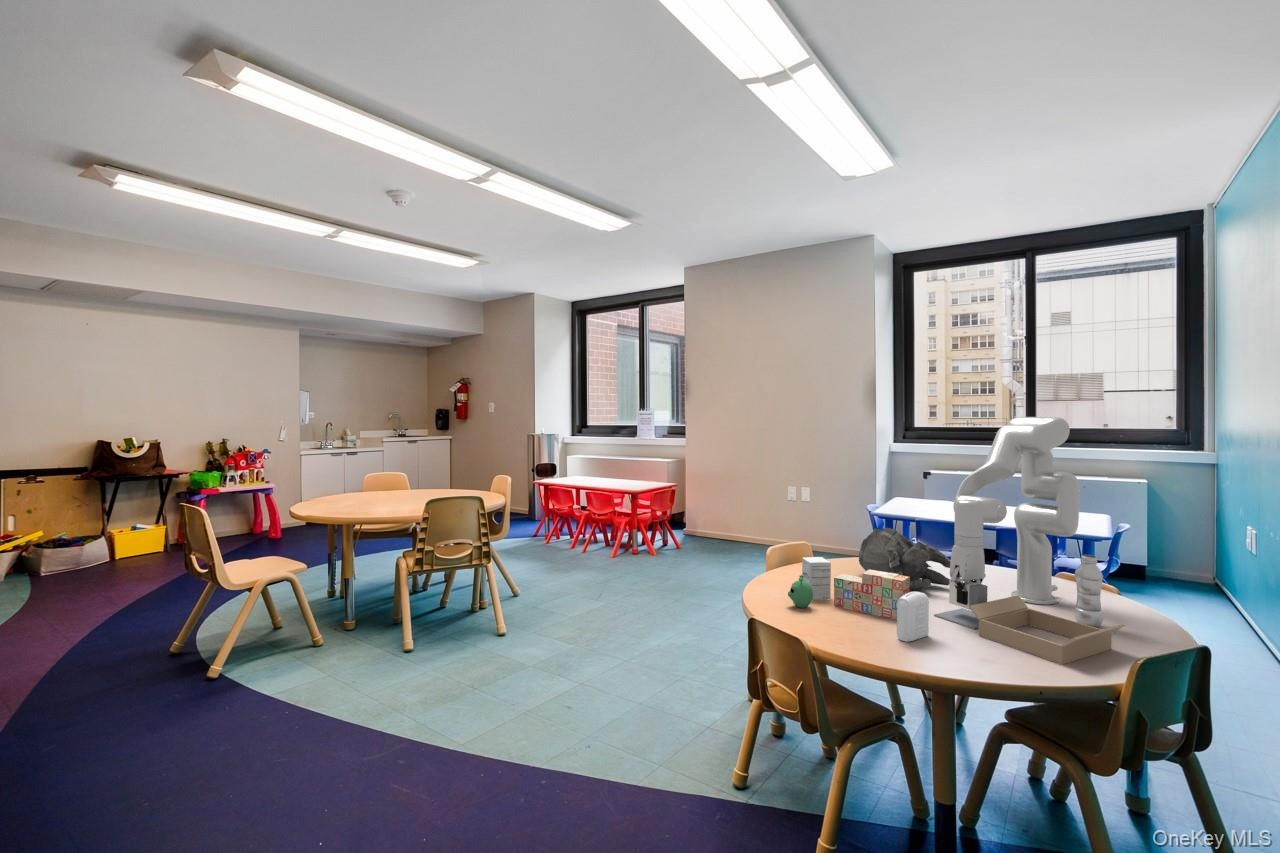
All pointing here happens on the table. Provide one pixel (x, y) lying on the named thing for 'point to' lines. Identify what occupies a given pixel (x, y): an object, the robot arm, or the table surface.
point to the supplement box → (817, 576)
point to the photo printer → (912, 616)
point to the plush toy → (902, 558)
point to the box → (969, 594)
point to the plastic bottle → (1088, 592)
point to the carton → (1015, 613)
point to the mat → (960, 617)
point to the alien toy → (801, 593)
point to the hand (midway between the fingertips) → (967, 601)
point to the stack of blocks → (871, 592)
